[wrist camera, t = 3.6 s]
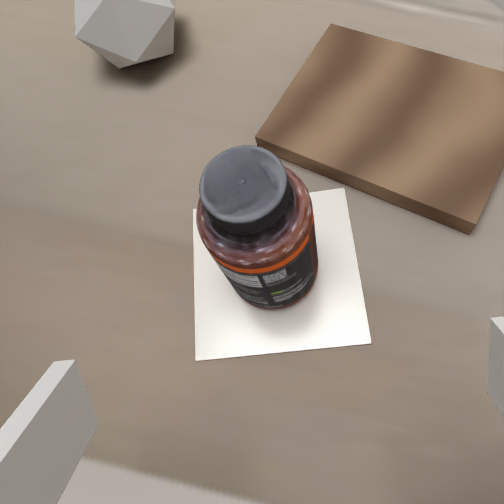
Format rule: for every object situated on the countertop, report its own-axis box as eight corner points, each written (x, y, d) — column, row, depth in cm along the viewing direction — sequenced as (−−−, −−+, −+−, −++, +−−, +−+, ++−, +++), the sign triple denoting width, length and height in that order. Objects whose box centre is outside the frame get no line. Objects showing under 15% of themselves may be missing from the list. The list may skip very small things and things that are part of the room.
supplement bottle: (271, 213, 31) (242, 103, 21) (337, 264, 29) (341, 168, 19) (212, 274, 30) (151, 189, 20) (276, 332, 28) (245, 269, 18)
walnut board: (258, 148, 34) (255, 136, 33) (330, 38, 37) (330, 23, 36) (468, 234, 29) (475, 224, 27) (533, 98, 32) (542, 82, 30)
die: (190, 11, 42) (100, -77, 37) (215, 17, 35) (108, -91, 30) (139, 82, 44) (46, 7, 38) (153, 101, 37) (41, 13, 31)
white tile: (196, 361, 28) (195, 360, 28) (193, 209, 33) (192, 208, 33) (371, 343, 27) (371, 343, 27) (344, 188, 31) (344, 187, 31)
